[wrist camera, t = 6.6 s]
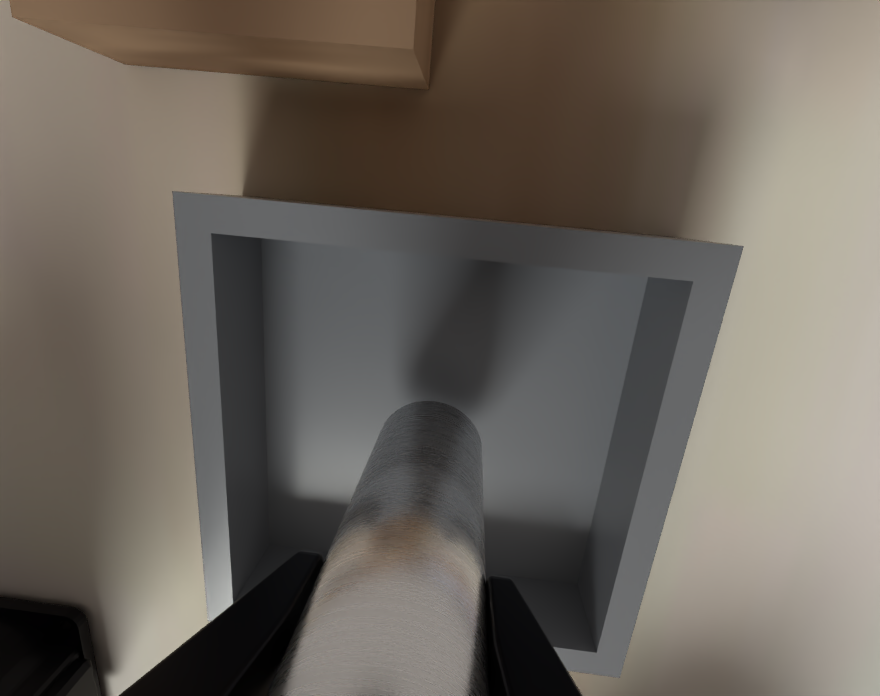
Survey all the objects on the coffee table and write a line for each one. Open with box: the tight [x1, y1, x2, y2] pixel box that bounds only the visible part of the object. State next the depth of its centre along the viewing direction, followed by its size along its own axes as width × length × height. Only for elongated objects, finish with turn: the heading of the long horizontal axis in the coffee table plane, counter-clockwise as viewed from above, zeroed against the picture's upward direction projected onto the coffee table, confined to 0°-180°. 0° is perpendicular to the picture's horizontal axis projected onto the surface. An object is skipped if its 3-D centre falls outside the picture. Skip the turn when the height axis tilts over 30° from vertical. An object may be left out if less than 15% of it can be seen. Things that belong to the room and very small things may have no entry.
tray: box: [172, 191, 744, 678], centre depth 13 cm, size 12×12×3 cm
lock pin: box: [266, 401, 489, 696], centre depth 8 cm, size 3×3×9 cm
